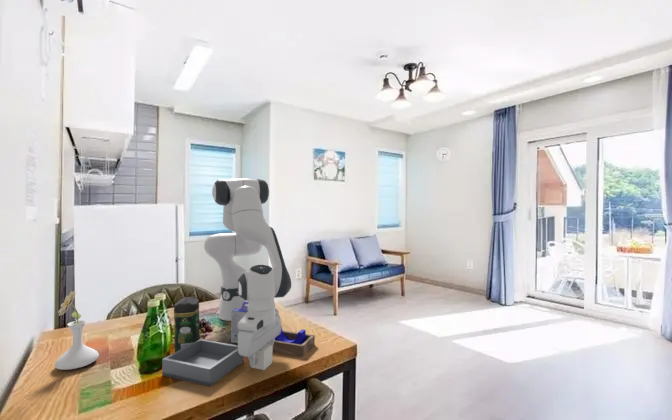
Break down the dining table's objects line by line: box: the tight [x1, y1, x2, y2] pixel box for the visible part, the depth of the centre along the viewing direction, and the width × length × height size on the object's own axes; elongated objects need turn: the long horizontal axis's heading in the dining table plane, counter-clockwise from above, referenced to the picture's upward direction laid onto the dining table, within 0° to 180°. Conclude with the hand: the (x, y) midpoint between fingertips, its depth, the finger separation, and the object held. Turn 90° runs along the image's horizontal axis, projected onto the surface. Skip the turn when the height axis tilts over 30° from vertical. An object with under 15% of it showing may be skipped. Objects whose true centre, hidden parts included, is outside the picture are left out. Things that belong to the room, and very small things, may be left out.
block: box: [250, 344, 273, 371], centre depth 106 cm, size 5×5×6 cm
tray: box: [161, 338, 245, 387], centre depth 104 cm, size 16×18×5 cm
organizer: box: [267, 330, 316, 357], centre depth 120 cm, size 10×18×4 cm, turn 70°
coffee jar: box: [173, 296, 201, 353], centre depth 117 cm, size 10×8×19 cm
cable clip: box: [275, 325, 307, 345], centre depth 121 cm, size 12×4×6 cm, turn 66°
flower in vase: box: [54, 290, 100, 371], centre depth 106 cm, size 13×11×25 cm
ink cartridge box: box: [230, 302, 249, 344], centre depth 125 cm, size 10×6×14 cm, turn 78°
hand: (261, 358), depth 106 cm, fingers open, 8 cm apart
